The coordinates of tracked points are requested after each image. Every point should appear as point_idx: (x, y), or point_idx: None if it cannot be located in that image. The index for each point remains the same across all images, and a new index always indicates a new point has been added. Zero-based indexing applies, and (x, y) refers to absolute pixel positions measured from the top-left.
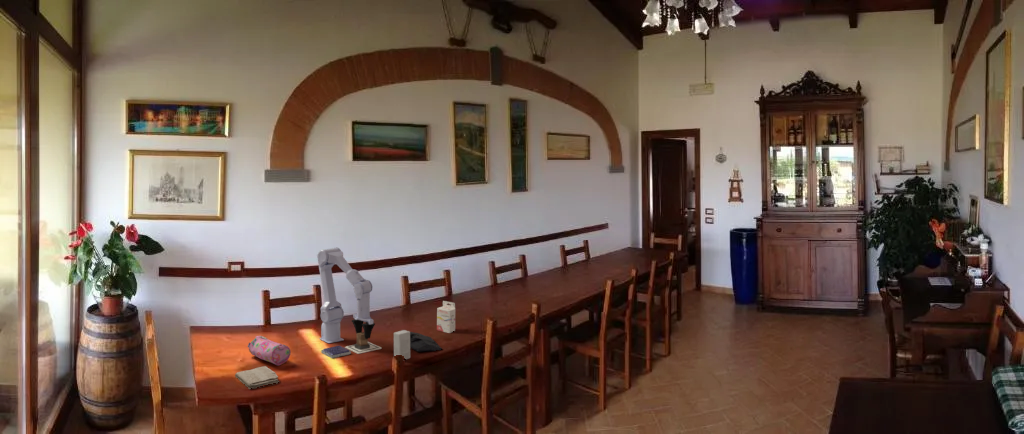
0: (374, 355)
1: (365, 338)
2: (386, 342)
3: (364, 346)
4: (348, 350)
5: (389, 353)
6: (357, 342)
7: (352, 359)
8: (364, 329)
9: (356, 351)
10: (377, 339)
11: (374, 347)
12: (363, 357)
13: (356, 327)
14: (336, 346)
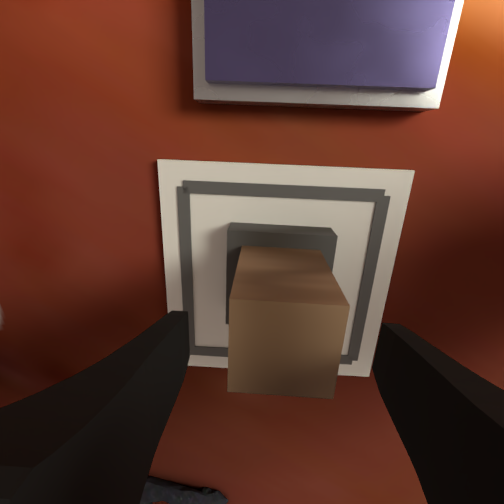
0: (51, 239)
1: (179, 311)
2: (272, 442)
3: (227, 272)
4: (206, 73)
5: (41, 337)
6: (305, 256)
7: (40, 18)
8: (84, 388)
9: (212, 174)
10: (373, 441)
11: (209, 334)
12: (46, 141)
13: (450, 397)
14: (432, 34)
